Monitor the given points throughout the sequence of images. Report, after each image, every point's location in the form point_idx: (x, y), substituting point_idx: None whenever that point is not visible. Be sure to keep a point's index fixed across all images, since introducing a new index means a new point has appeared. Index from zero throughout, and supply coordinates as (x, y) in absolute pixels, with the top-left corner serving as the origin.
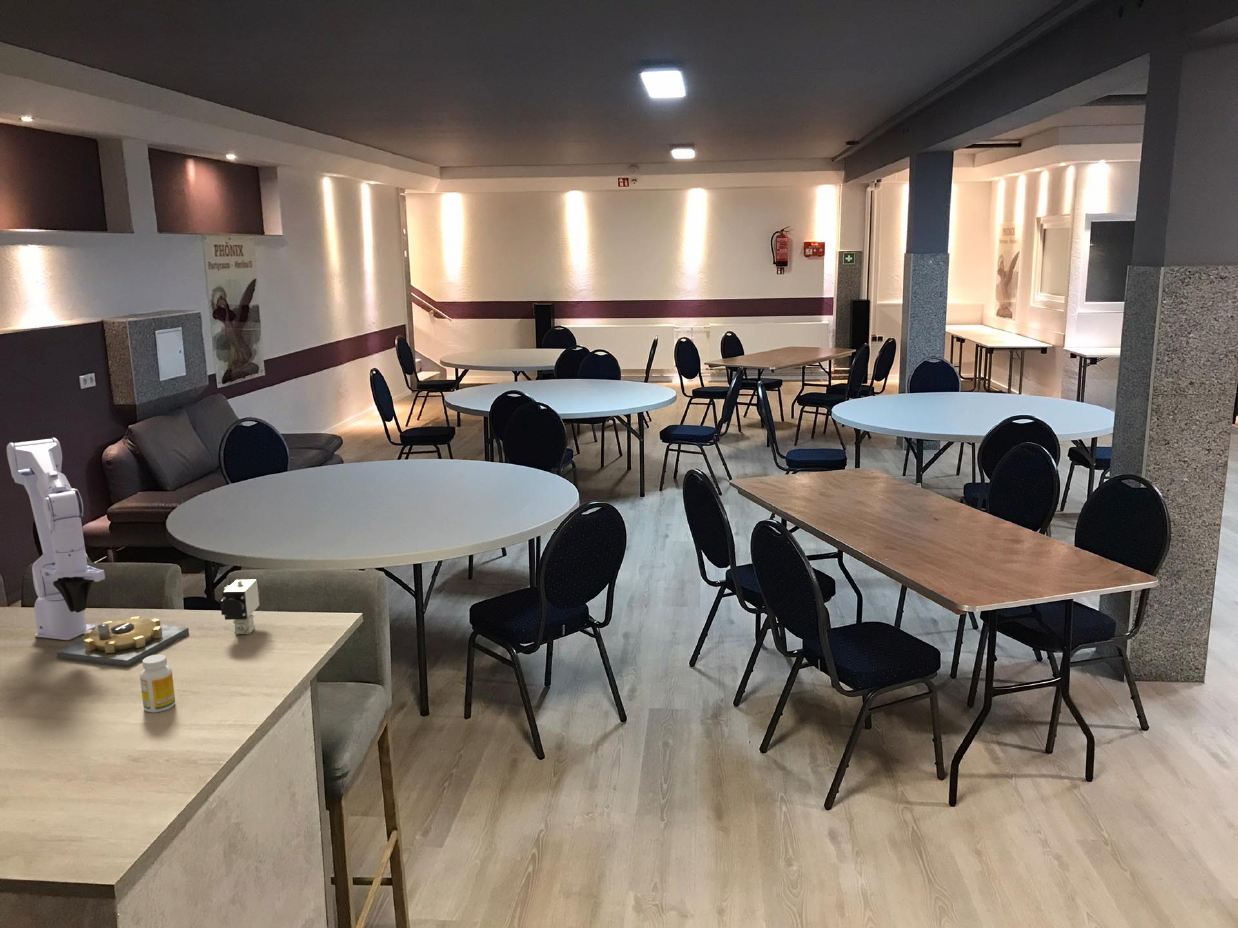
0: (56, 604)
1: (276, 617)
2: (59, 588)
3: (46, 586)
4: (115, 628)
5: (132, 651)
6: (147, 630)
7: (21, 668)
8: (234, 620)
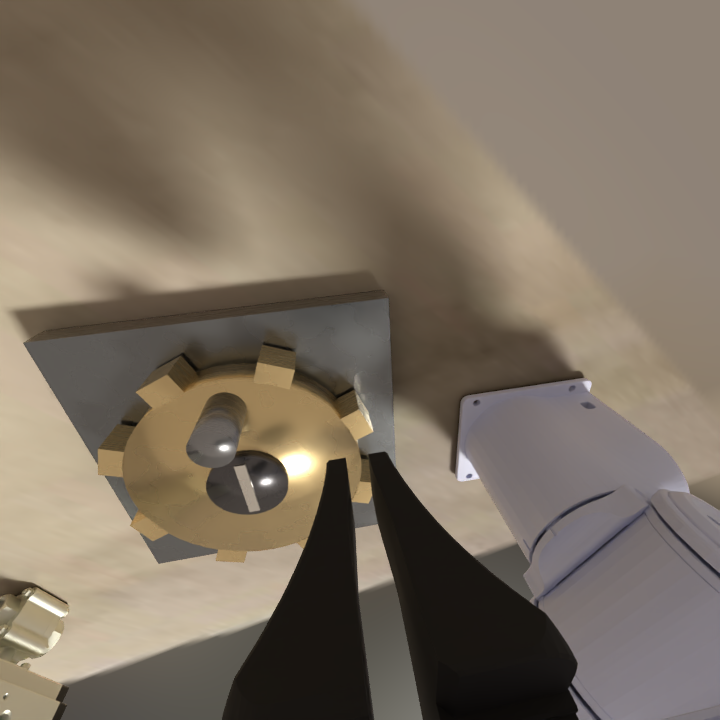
0: (573, 486)
1: (72, 658)
2: (466, 592)
3: (683, 557)
4: (260, 471)
5: (111, 403)
6: (155, 506)
7: (438, 166)
8: (2, 636)
